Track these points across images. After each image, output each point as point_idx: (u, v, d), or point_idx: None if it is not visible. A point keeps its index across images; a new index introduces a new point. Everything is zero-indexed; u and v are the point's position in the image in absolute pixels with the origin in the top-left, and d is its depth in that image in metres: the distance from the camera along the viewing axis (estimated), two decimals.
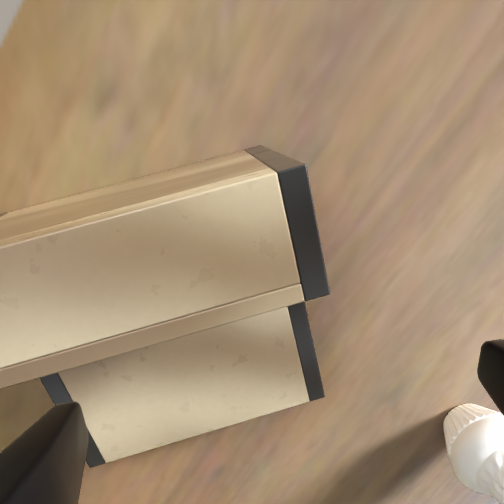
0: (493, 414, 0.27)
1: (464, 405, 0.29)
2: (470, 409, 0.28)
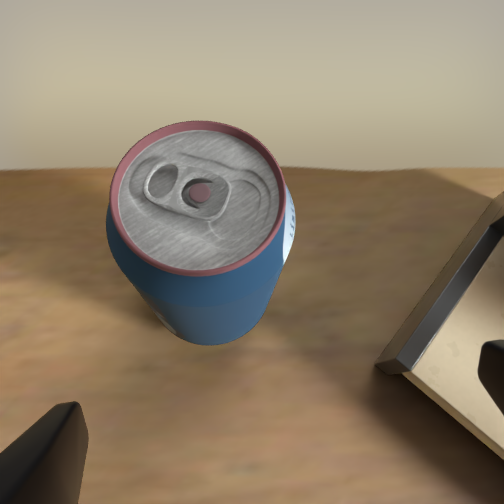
0: None
1: None
2: None
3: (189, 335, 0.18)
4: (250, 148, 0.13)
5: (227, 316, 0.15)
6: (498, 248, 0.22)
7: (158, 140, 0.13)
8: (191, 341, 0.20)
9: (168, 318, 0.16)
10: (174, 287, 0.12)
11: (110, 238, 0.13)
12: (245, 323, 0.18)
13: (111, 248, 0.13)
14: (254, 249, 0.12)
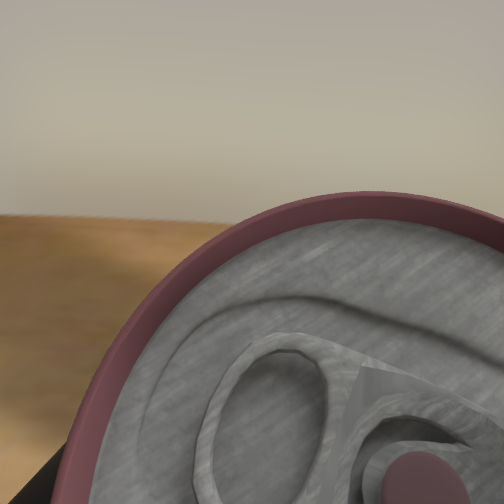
0: None
1: None
2: None
3: None
4: None
5: None
6: None
7: (250, 251, 0.04)
8: None
9: None
10: None
11: None
12: None
13: None
14: None
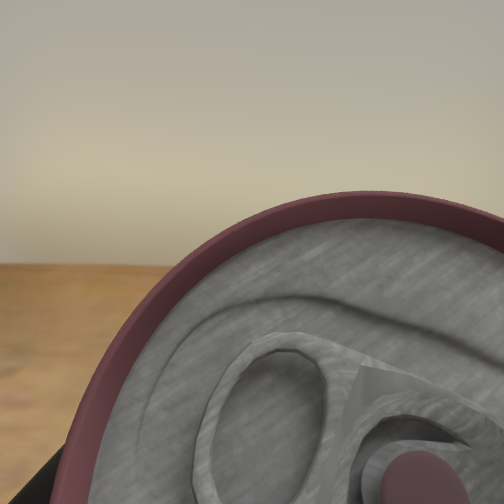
0: None
1: None
2: None
3: None
4: None
5: None
6: None
7: (249, 251, 0.04)
8: None
9: None
10: None
11: None
12: None
13: None
14: None
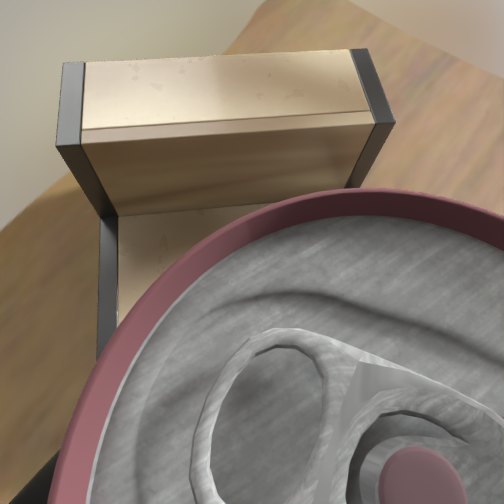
0: None
1: None
2: None
3: None
4: None
5: None
6: (121, 230, 0.21)
7: (248, 247, 0.04)
8: None
9: None
10: None
11: None
12: None
13: None
14: None
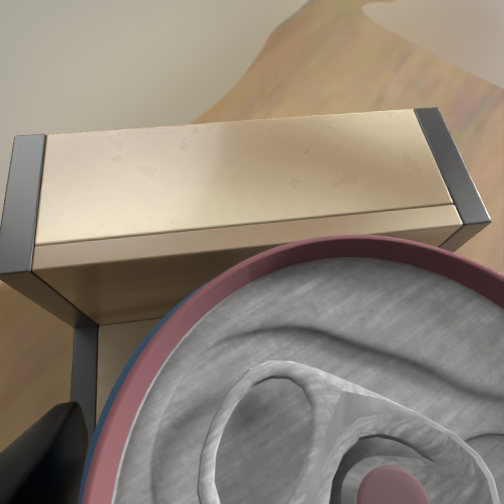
0: None
1: None
2: None
3: None
4: None
5: None
6: (101, 347, 0.15)
7: (248, 287, 0.04)
8: None
9: None
10: None
11: None
12: None
13: None
14: None
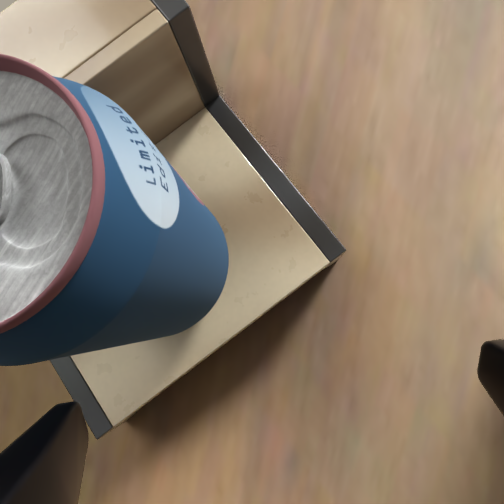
0: None
1: None
2: None
3: None
4: (14, 76, 0.08)
5: (142, 324, 0.10)
6: None
7: None
8: None
9: None
10: (4, 350, 0.08)
11: None
12: (196, 300, 0.14)
13: None
14: None
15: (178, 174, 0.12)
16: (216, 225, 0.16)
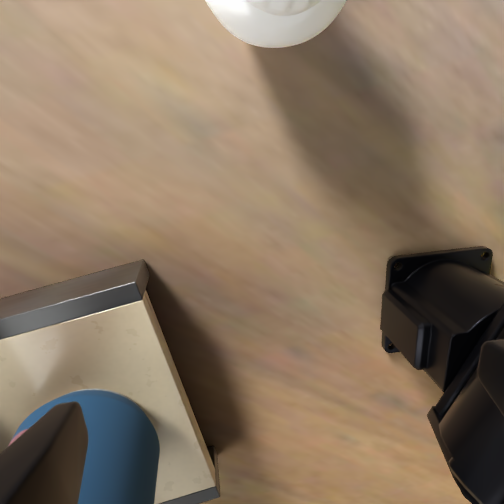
0: None
1: None
2: None
3: None
4: None
5: None
6: None
7: None
8: None
9: None
10: None
11: None
12: (133, 479, 0.15)
13: None
14: None
15: None
16: None
